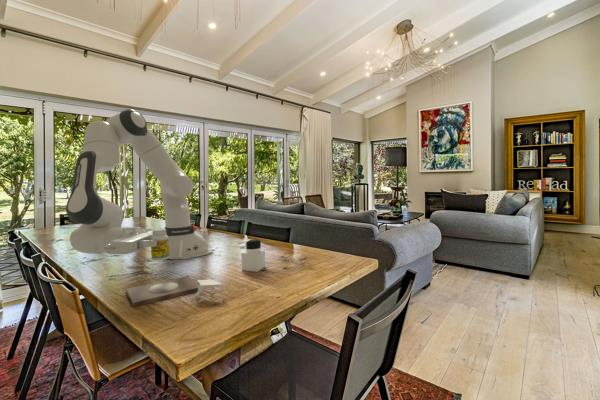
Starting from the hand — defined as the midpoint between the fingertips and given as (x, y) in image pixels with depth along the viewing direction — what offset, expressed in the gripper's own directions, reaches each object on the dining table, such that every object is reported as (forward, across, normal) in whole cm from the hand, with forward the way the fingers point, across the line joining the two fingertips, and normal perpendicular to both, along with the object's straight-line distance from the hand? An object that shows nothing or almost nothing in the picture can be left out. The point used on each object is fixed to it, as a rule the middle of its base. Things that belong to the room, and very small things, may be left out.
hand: (162, 240), depth 100 cm
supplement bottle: (-1, 0, +6) cm, 6 cm away
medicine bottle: (+24, +25, +17) cm, 39 cm away
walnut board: (0, 0, +17) cm, 17 cm away
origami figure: (+17, -5, +17) cm, 25 cm away
